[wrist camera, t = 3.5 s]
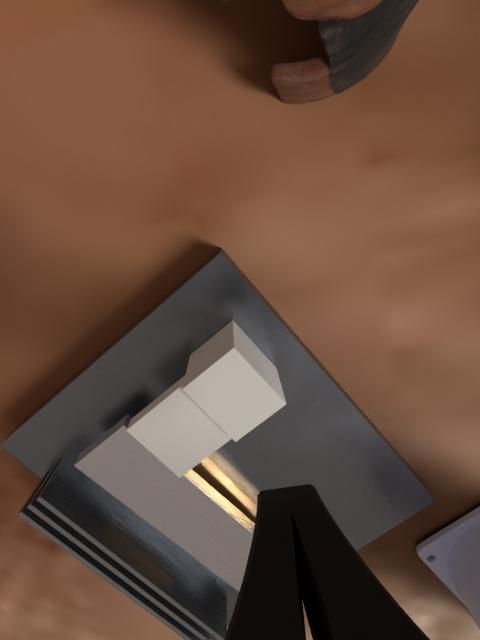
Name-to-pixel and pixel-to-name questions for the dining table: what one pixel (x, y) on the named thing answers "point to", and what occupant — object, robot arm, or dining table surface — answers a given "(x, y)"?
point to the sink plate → (218, 468)
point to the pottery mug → (339, 45)
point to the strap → (171, 502)
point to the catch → (210, 401)
